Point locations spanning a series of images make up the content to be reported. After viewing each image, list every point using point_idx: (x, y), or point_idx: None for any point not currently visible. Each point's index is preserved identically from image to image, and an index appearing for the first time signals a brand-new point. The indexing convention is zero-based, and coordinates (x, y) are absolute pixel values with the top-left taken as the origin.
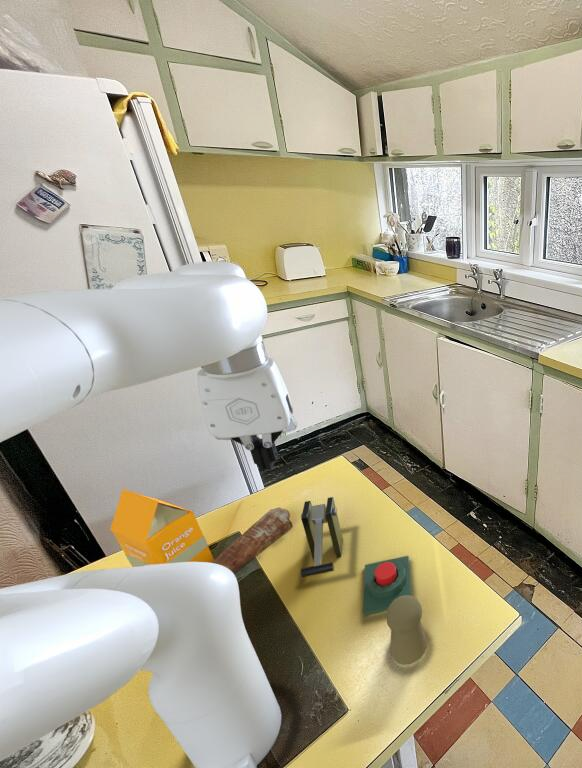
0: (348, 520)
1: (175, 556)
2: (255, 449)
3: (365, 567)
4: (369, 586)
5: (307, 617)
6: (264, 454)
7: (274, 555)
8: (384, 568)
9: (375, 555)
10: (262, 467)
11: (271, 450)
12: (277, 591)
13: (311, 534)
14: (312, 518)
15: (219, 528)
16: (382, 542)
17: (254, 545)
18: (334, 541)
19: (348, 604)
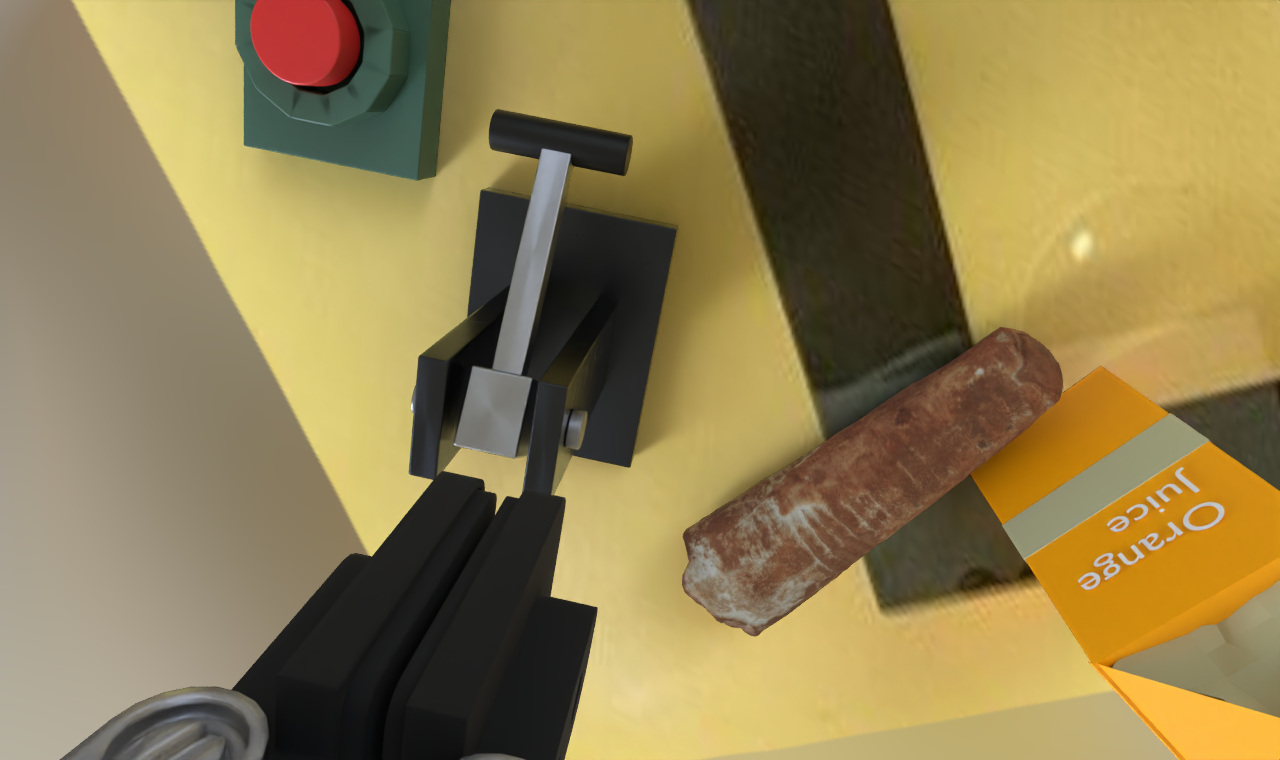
0: (486, 478)
1: (1144, 485)
2: (436, 740)
3: (415, 164)
4: (383, 10)
5: (662, 64)
6: (360, 611)
7: (763, 429)
8: (297, 47)
9: (396, 248)
10: (512, 506)
11: (275, 665)
12: (761, 245)
13: (566, 343)
14: (526, 385)
15: (950, 659)
16: (366, 302)
17: (825, 469)
18: (497, 306)
19: (511, 52)
